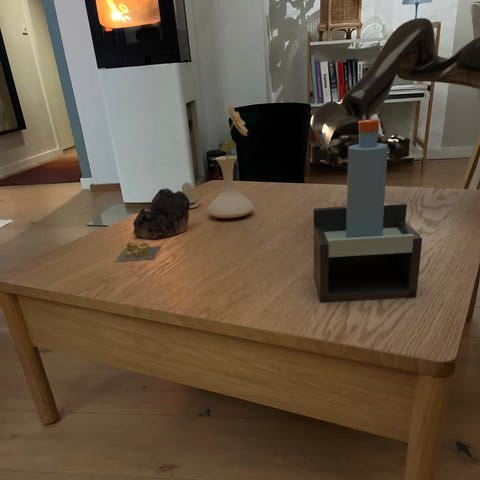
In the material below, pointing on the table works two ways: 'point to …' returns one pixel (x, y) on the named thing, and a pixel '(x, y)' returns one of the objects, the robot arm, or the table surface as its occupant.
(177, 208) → the dark brown rock
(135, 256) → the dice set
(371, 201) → the plastic bottle
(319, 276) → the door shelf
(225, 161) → the flower in vase
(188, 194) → the pacifier
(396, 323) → the table surface
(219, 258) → the table surface
